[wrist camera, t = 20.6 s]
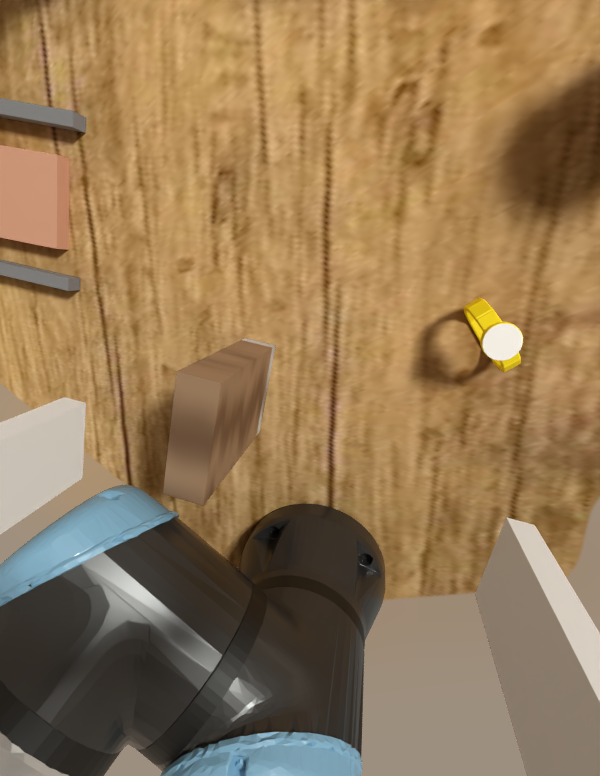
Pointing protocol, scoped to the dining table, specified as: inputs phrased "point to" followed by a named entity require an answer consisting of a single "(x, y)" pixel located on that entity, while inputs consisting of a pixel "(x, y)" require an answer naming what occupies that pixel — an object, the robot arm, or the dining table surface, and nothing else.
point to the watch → (494, 334)
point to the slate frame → (53, 119)
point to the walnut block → (215, 417)
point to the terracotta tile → (34, 197)
